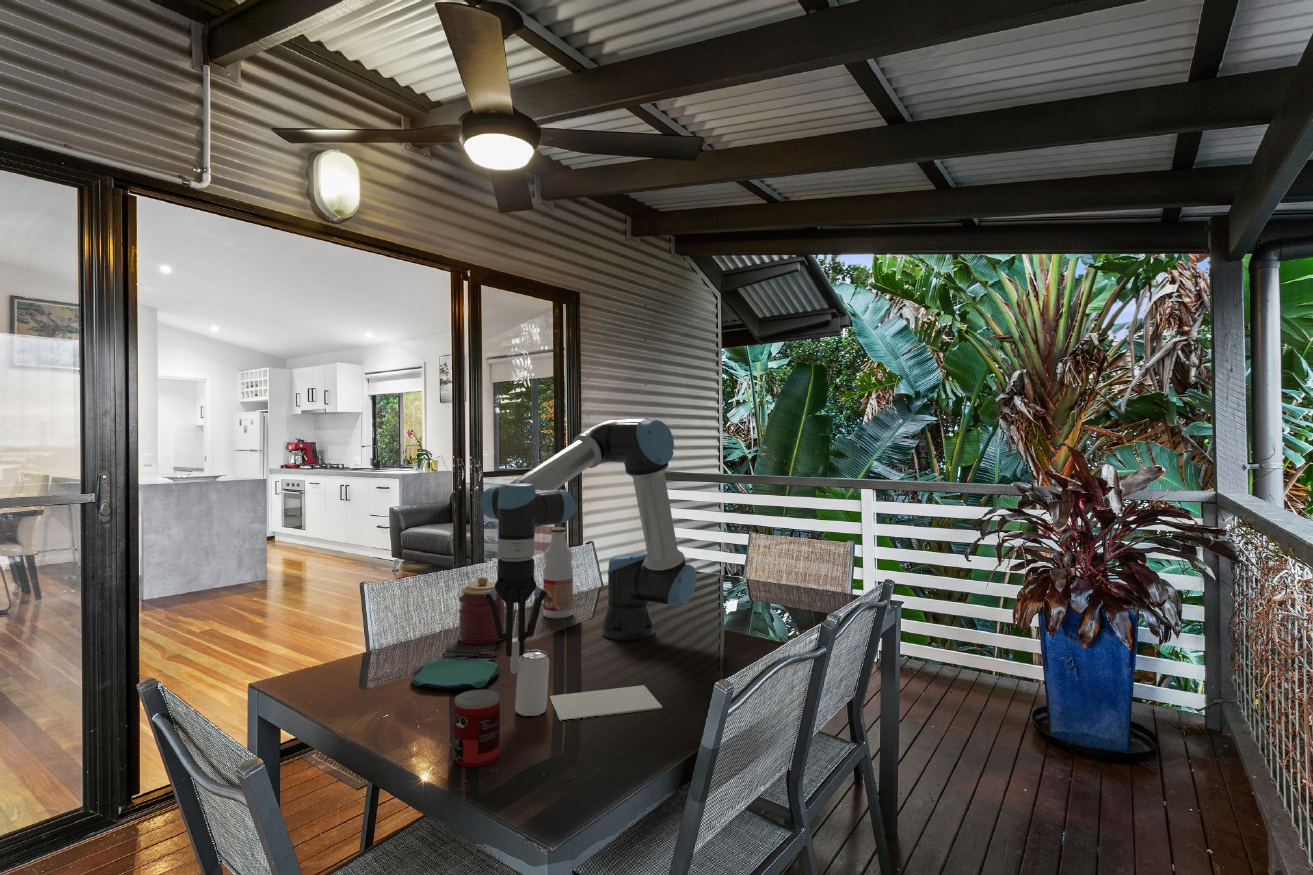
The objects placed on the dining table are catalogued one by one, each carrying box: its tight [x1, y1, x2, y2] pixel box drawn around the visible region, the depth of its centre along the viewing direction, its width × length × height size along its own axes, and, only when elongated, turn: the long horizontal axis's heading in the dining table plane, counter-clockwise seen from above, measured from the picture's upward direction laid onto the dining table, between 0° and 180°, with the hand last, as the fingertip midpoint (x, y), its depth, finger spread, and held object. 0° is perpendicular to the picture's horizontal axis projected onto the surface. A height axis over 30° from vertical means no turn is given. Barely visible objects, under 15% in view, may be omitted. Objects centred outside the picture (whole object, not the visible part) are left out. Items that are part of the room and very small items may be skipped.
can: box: [514, 649, 550, 717], centre depth 144 cm, size 6×6×12 cm
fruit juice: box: [542, 526, 574, 619], centre depth 220 cm, size 9×9×28 cm
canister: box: [458, 576, 506, 646], centre depth 194 cm, size 13×13×18 cm
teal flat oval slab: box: [411, 648, 500, 690], centre depth 168 cm, size 20×30×2 cm, turn 1°
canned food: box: [453, 689, 501, 768], centre depth 123 cm, size 8×8×11 cm
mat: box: [548, 684, 663, 722], centre depth 149 cm, size 13×22×1 cm, turn 108°
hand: (514, 670), depth 143 cm, fingers closed
